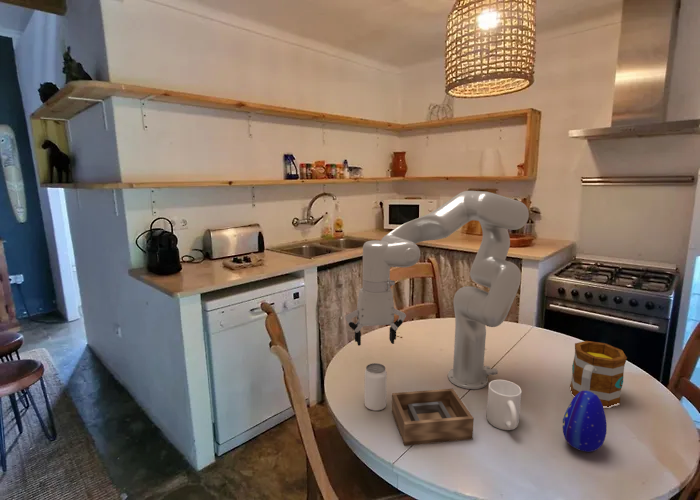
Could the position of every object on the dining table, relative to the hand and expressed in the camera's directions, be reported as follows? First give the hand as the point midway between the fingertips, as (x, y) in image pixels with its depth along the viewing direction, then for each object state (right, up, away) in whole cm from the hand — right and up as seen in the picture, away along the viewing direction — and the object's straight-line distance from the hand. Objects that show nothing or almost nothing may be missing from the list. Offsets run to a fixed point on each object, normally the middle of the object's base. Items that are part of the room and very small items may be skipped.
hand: (375, 342), depth 110 cm
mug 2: (+65, -19, +6) cm, 68 cm away
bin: (+15, -21, -5) cm, 26 cm away
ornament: (+51, -23, -14) cm, 57 cm away
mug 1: (+35, -21, -6) cm, 41 cm away
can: (0, -20, +4) cm, 20 cm away
